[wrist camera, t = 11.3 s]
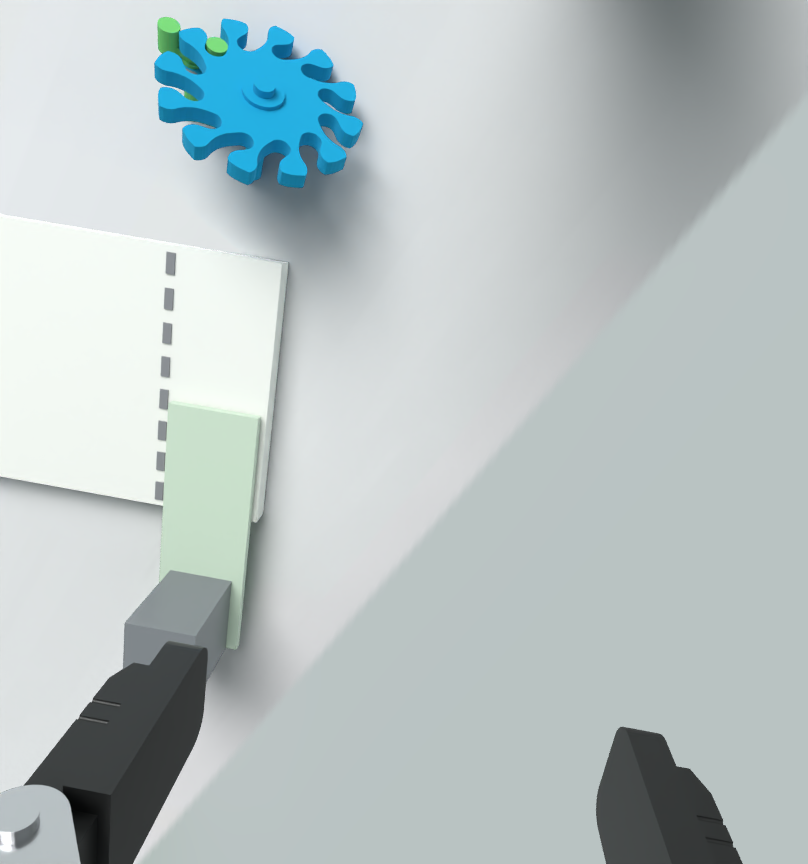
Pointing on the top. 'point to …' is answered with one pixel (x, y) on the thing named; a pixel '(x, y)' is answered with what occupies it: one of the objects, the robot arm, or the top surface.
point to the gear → (253, 100)
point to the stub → (200, 535)
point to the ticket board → (126, 352)
